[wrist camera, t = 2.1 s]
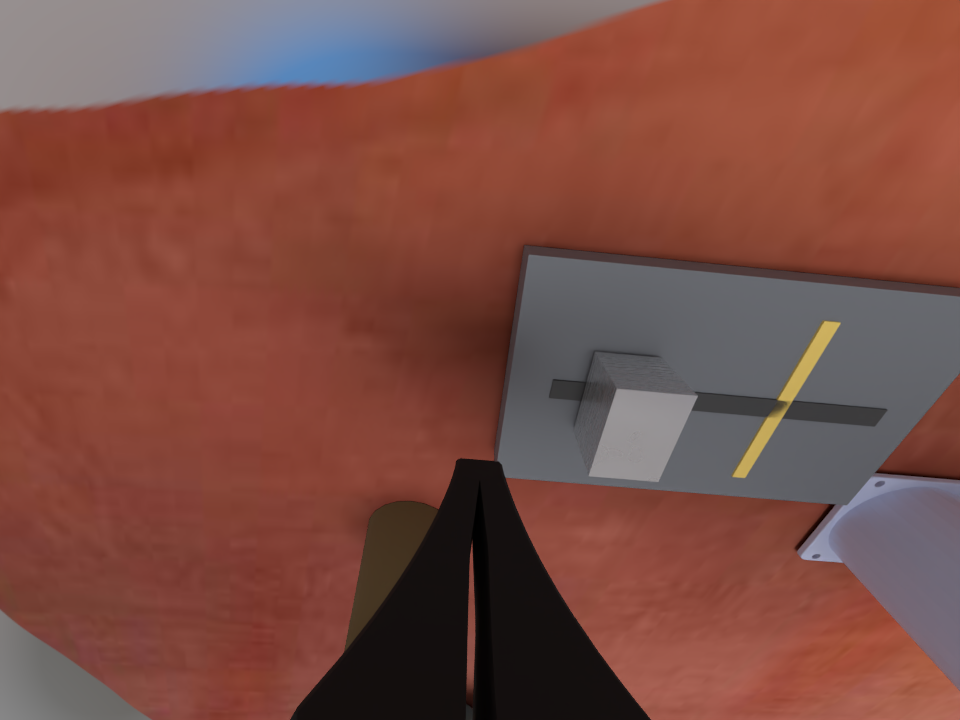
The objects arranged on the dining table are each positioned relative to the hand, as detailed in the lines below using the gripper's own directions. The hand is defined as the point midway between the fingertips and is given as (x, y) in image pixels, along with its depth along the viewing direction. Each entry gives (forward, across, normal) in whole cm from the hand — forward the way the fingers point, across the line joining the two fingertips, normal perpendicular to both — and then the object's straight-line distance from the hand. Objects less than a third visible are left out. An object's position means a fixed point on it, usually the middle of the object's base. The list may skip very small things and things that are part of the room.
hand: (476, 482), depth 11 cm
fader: (+6, -6, 0) cm, 9 cm away
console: (+8, -11, 0) cm, 14 cm away
